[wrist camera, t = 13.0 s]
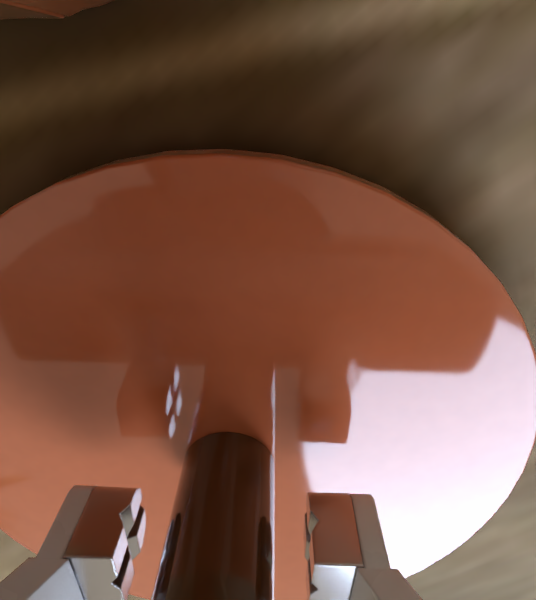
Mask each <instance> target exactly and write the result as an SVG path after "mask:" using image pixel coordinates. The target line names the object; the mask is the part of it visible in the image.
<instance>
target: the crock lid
mask: <svg viewBox="0 0 536 600" xmlns="http://www.w3.org/2000/svg"><path fill="white" fill-rule="evenodd" d="M535 439H536V353H535V348H534V346H533V343H532V341H531V338H530V336H529V333H528V330H527V328H526V325H525V323H524V320H523V318H522V315H521V313H520V312H519V310H518V309H517V307H516V305H515V304H514V302H513V301H512V299H511V297H510V296H509V294H508V293H507V291H506V289H505V288H504V286H503V284H502V283H501V281H500V280H499V279H498V278H497V277H496V276H495V275H494V273H493V272H492V271H491V270H490V269H489V268H488V267H487V266H486V265H485V263H484V262H483V261H482V260H481V259H480V258H479V257H478V256H477V255H476V253H475V252H474V251H473V250H472V249H471V248H470V247H469V246H468V245H467V244H465V243H464V242H463V241H462V240H461V239H460V238H458V237H457V236H456V235H455V234H453V233H452V232H451V231H450V230H448V229H447V228H446V227H445V226H443V225H442V224H441V223H440V222H438V221H437V220H436V219H435V218H433V217H432V216H431V215H430V214H428V213H427V212H426V211H424V210H422V209H421V208H419V207H417V206H415V205H414V204H412V203H410V202H409V201H407V200H405V199H403V198H402V197H400V196H398V195H396V194H395V193H393V192H391V191H389V190H388V189H386V188H384V187H382V186H380V185H377V184H375V183H372V182H370V181H367V180H365V179H362V178H359V177H357V176H354V175H352V174H349V173H347V172H344V171H342V170H339V169H337V168H334V167H330V166H326V165H322V164H318V163H314V162H310V161H306V160H301V159H297V158H293V157H289V156H285V155H281V154H272V153H262V152H252V151H242V150H232V149H205V150H179V151H165V152H160V153H154V154H149V155H143V156H138V157H132V158H127V159H121V160H116V161H113V162H110V163H107V164H104V165H101V166H98V167H95V168H92V169H89V170H86V171H83V172H80V173H78V174H75V175H72V176H69V177H66V178H64V179H62V180H60V181H58V182H56V183H55V184H53V185H51V186H49V187H47V188H45V189H43V190H41V191H39V192H38V193H36V194H34V195H32V196H30V197H28V198H26V199H24V200H22V201H20V202H19V203H17V204H15V205H13V206H11V207H10V208H9V209H8V210H6V211H5V212H4V213H2V214H1V215H0V529H1V530H2V531H3V532H5V533H6V534H7V535H9V536H10V537H11V538H12V539H14V540H15V541H16V542H18V543H19V544H21V545H23V546H24V547H26V548H27V549H29V550H30V551H32V552H33V553H35V554H38V552H39V550H40V548H41V546H42V544H43V542H44V540H45V538H46V536H47V534H48V532H49V530H50V528H51V526H52V524H53V522H54V520H55V518H56V516H57V514H58V512H59V510H60V508H61V506H62V504H63V502H64V500H65V498H66V496H67V494H68V492H69V491H70V490H71V489H72V487H73V486H74V485H86V486H106V487H129V488H140V489H141V493H142V500H141V504H140V505H141V506H142V507H143V508H144V509H145V513H146V529H145V535H144V541H143V544H142V548H141V552H140V553H139V554H138V555H137V556H136V557H135V558H134V559H133V560H132V563H133V567H134V572H135V573H134V577H133V580H132V584H131V587H130V591H129V594H130V595H134V596H138V597H141V598H145V599H149V600H307V589H306V571H307V562H308V561H307V560H306V558H305V557H304V515H305V513H306V512H307V510H306V498H307V493H308V492H310V493H349V494H371V495H372V496H373V498H374V500H375V504H376V509H377V513H378V517H379V521H380V526H381V530H382V534H383V538H384V542H385V547H386V551H387V555H388V559H389V564H390V568H391V569H398V570H399V572H400V573H401V574H402V575H403V576H404V578H407V577H409V576H411V575H413V574H415V573H417V572H419V571H421V570H423V569H425V568H427V567H429V566H430V565H432V564H433V563H435V562H437V561H438V560H440V559H442V558H443V557H445V556H447V555H448V554H450V553H451V552H452V551H454V550H455V549H456V548H458V547H459V546H460V545H462V544H463V543H464V542H466V541H467V540H468V539H470V538H471V537H472V536H473V535H474V534H475V533H476V532H477V531H478V530H479V529H480V528H481V527H483V526H484V525H485V524H486V523H487V522H488V521H489V520H490V519H491V518H492V517H493V515H494V514H495V513H496V512H497V511H498V509H499V508H500V507H501V506H502V504H503V503H504V502H505V501H506V499H507V498H508V497H509V496H510V494H511V492H512V490H513V489H514V487H515V485H516V484H517V482H518V480H519V479H520V477H521V475H522V474H523V472H524V470H525V467H526V465H527V462H528V460H529V457H530V455H531V452H532V449H533V447H534V444H535Z"/></svg>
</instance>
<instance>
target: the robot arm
mask: <svg viewBox="0 0 536 600" xmlns="http://www.w3.org/2000/svg"><path fill="white" fill-rule="evenodd" d="M141 500H142V493H141V489H140V488H129V487H106V486H86V485H74V486H73V487H72V489H71V490H70V491H69V492H68V494H67V496H66V498H65V500H64V502H63V504H62V506H61V508H60V510H59V512H58V514H57V516H56V518H55V520H54V522H53V524H52V526H51V528H50V530H49V532H48V534H47V536H46V538H45V540H44V542H43V544H42V546H41V548H40V550H39V552H38V554H37V556H36V558H28V559H27V560H26V561H25V562H23V563H22V564H21V565H20V566H19V567H18V568H16V569H15V570H14V571H13V572H12V573H11V574H9V575H8V576H7V577H6V578H5V579H4V580H2V581H1V582H0V600H127V598H128V594H129V591H130V587H131V584H132V580H133V577H134V573H135V572H134V567H133V563H132V560H133V559H134V558H135V557H136V556H137V555H138V554H139V553H140V552H141V548H142V544H143V541H144V535H145V529H146V513H145V509H144V508H143V507H142V506H141V505H140V504H141ZM306 510H307V512H306V513H305V515H304V557H305V558H306V560H307V561H308V562H307V571H306V589H307V600H423V599H422V598H421V597H420V596H419V595H418V593H417V592H416V591H415V590H414V589H413V587H412V586H411V585H410V584H409V582H408V581H407V580H406V579H405V578H404V576H403V575H402V574H401V573H400V572H399V570H398V569H391V568H390V564H389V559H388V555H387V551H386V547H385V542H384V538H383V534H382V530H381V526H380V521H379V517H378V513H377V509H376V504H375V500H374V498H373V496H372V495H371V494H349V493H310V492H308V493H307V498H306Z"/></svg>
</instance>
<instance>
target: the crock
mask: <svg viewBox="0 0 536 600" xmlns="http://www.w3.org/2000/svg"><path fill="white" fill-rule="evenodd" d="M111 1H114V0H0V20H3V19H22V18H48V19H62V18H64V17H65V16H71V15H73V14H75V13H77V12H79V11H81V10H84V9H88V8H93V7H97V6H102V5H104V4H107V3H109V2H111Z"/></svg>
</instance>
